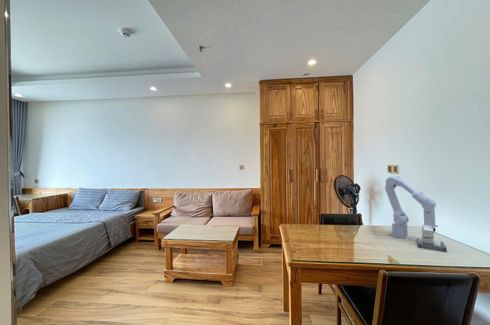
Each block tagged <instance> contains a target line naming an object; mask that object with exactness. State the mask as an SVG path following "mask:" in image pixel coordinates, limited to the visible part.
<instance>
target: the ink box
mask: <svg viewBox="0 0 490 325" xmlns="http://www.w3.org/2000/svg"><path fill="white" fill-rule="evenodd" d="M428 226H429V225H424V224H422V225H421V231H422V232H421V241H422V244H427V245H434V244H435V242H434V233H435V232H434V231H433V229H430V228H432V226H431V227H430V228H429V227H428ZM434 246H435V245H434Z"/></svg>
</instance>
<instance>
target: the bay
mask: <svg viewBox="0 0 490 325" xmlns="http://www.w3.org/2000/svg"><path fill="white" fill-rule="evenodd" d="M416 243H417V248H419V249H424V250H431V251H435V252H442V251H443V252H442V253H447V252H448V250H447V248H448V247H446V244H445V243H444V241H440V242H439V243H440V246H439V245H427V244H423V243H421V240H420V238H419V237H416Z"/></svg>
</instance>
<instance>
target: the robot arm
mask: <svg viewBox="0 0 490 325" xmlns="http://www.w3.org/2000/svg"><path fill="white" fill-rule="evenodd" d="M384 182H385V187H384V189H385V192H386V195H387V197H388V200H389V203H390V206H391V208H392V212H393V214H392V216H393V222H394V223H392V224H391V234H392V237H393V238H400V239H407V240H408V239H409V234H408V232H409V230H408V223H409V220H410V219H409V216H407V214H406V212H405V211H404V210H403V208H402V206H401V204H400V201H399V199H398V196H397V194H396V191H395V190H396V188H397V187H401V188H403V189H404V190H405V191H407V192H408V193H410V194H411V197H412V198H413V199H414V200H415V201H416V202H418V203H419V204H420V205H421V207H422V208H423V225H429V226H428V227H429V228H430V227H431V226H432V228H430V229H433V231H434V233H435V231H436V228H438V227H439V225H438V224H436V211H435V207H436V206H437V204H436V202H435V201H434V200H433V199H431V198H429V197H427V196H426V195H424V192H421V191H416V190H415V189H414V188H413V187H412V186H410V185H409V184H408V183H407V182H406V181H405V180H404V179H403V178H401V177H400V176H397V175H395V176H388V177H387V179H385V181H384Z"/></svg>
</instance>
